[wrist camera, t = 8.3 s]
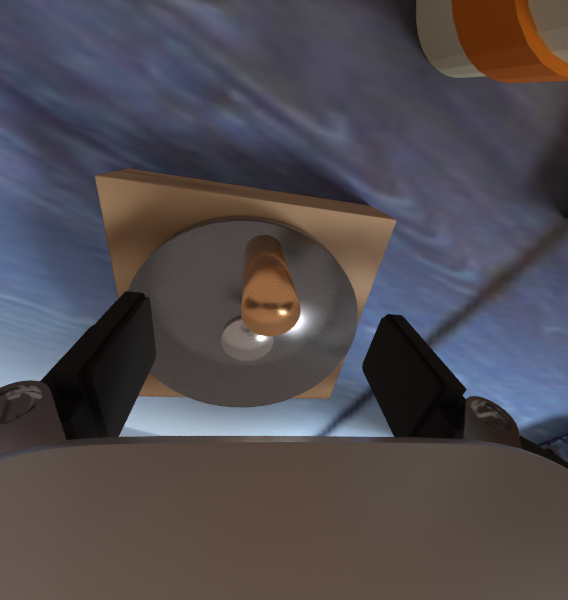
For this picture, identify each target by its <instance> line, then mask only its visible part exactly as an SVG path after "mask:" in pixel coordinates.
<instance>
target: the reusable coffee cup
mask: <svg viewBox="0 0 568 600" xmlns="http://www.w3.org/2000/svg"><path fill="white" fill-rule="evenodd" d="M416 24H417V31H418V37H419V40H420V44H421V47H422V50H423V52H424V54H425V55H426V57H427V59H428V61H429V62H430V63H431V64H432V65H433V66H434V68H435V69H436V70H437V71H439V72H441V73H443V74H444V75H446V76H450V77H455V78H466V77H480V76H488V77H489V78H491V79H493V80H497V81H501V82H506V83H525V82H550V81H568V0H416Z"/></svg>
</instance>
